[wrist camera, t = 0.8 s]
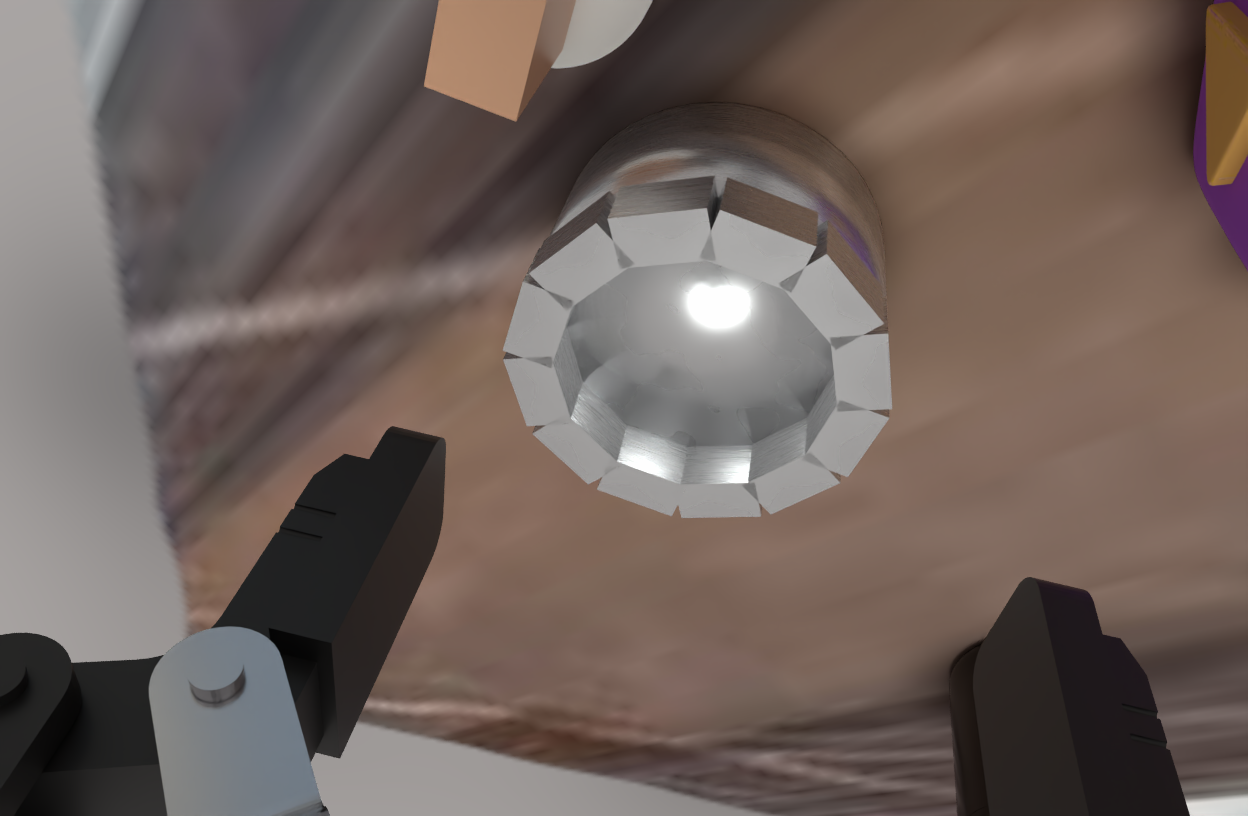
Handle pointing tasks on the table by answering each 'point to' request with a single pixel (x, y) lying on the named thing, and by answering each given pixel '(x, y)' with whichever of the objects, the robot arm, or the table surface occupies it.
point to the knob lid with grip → (520, 45)
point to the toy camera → (1225, 121)
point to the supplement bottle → (967, 740)
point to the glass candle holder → (708, 316)
